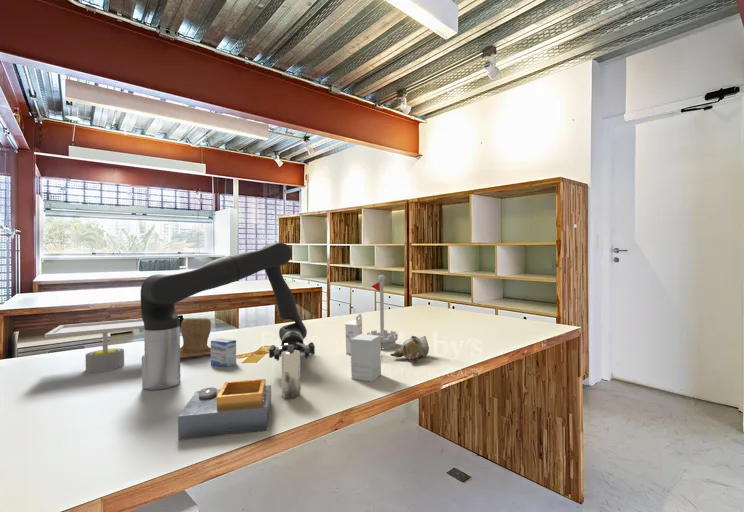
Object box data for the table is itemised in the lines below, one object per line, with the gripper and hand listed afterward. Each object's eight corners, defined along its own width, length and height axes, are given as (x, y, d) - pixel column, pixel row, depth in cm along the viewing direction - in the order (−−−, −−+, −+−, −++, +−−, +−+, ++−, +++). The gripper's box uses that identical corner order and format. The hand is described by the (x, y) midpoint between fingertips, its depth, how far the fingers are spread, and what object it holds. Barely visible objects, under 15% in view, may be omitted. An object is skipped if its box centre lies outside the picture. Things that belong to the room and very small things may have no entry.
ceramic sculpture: (436, 333, 133) (410, 343, 122) (437, 356, 133) (411, 368, 123) (414, 329, 140) (387, 338, 130) (415, 351, 141) (389, 362, 130)
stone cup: (211, 349, 147) (211, 313, 147) (215, 356, 137) (214, 317, 136) (169, 355, 139) (169, 317, 139) (170, 363, 129) (169, 322, 129)
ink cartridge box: (351, 348, 147) (350, 312, 147) (362, 348, 146) (362, 313, 146) (345, 354, 138) (344, 316, 138) (357, 354, 137) (357, 316, 137)
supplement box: (381, 374, 114) (381, 335, 114) (372, 382, 108) (371, 340, 108) (361, 371, 117) (360, 333, 117) (350, 379, 111) (349, 338, 111)
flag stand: (403, 344, 153) (402, 274, 152) (388, 351, 142) (387, 276, 141) (377, 340, 160) (376, 273, 159) (360, 347, 149) (360, 275, 148)
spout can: (281, 400, 95) (280, 347, 95) (282, 393, 100) (281, 343, 100) (300, 398, 96) (300, 346, 96) (300, 391, 101) (299, 342, 101)
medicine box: (210, 365, 127) (209, 340, 126) (220, 361, 131) (219, 337, 131) (227, 367, 124) (227, 342, 124) (236, 363, 128) (236, 339, 128)
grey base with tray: (178, 440, 75) (177, 404, 75) (196, 411, 89) (196, 381, 89) (267, 430, 79) (266, 396, 79) (271, 404, 92) (271, 375, 92)
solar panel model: (45, 382, 110) (44, 334, 110) (61, 367, 126) (60, 324, 125) (150, 368, 124) (149, 325, 124) (153, 355, 139) (152, 317, 139)
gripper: (271, 333, 123) (267, 345, 107) (312, 331, 126) (315, 342, 110) (271, 355, 123) (268, 370, 107) (313, 352, 126) (315, 366, 110)
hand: (292, 356), depth 109 cm, fingers open, 8 cm apart
